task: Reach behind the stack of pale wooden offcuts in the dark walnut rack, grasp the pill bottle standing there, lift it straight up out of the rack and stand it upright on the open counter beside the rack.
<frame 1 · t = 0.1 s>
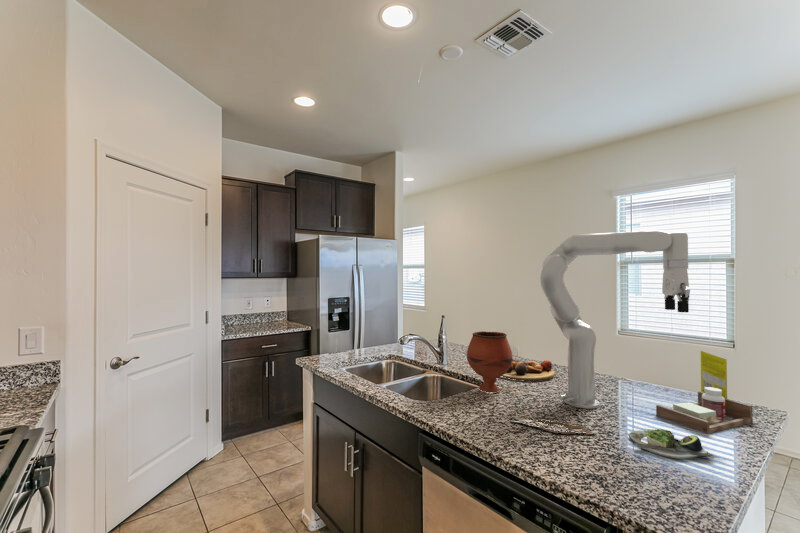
hand: (676, 310, 135), 37 cm above the worktop, tool pointing down, fingers open, 9 cm apart
birch offcut: (693, 420, 122), point 1 cm above the worktop, touching ash offcut, walnut rack
goblet: (489, 391, 157), on the worktop
wooden fragment: (550, 428, 120), on the worktop
food package: (713, 407, 139), on the worktop
sage painted offcut: (694, 412, 122), point 4 cm above the worktop, touching ash offcut
pill bottle: (713, 421, 126), resting in walnut rack
wooden plate with food: (521, 374, 186), on the worktop
walnut rack: (703, 423, 124), on the worktop
ash offcut: (693, 415, 122), point 3 cm above the worktop, touching birch offcut, sage painted offcut
salad plate: (669, 448, 107), on the worktop
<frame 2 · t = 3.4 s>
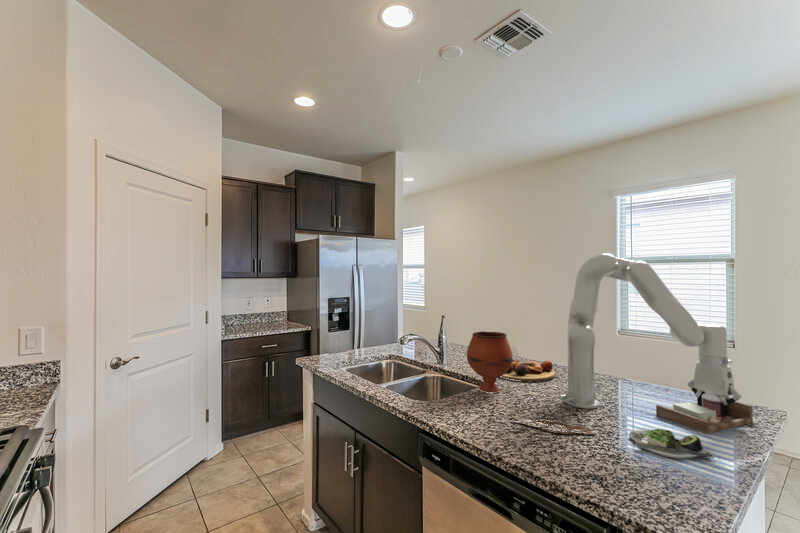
hand: (713, 411, 126), 3 cm above the worktop, tool pointing down, fingers closed on pill bottle, 6 cm apart
pill bottle: (713, 421, 126), resting in walnut rack, touching gripper
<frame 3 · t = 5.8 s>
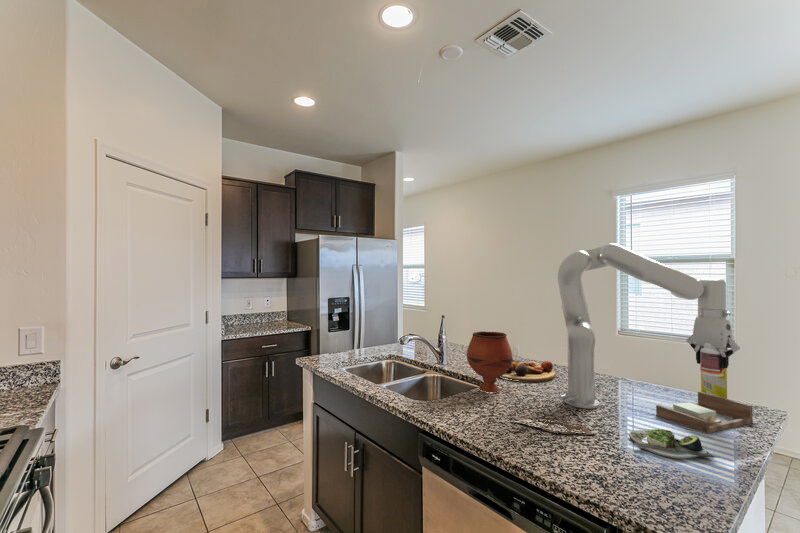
hand: (711, 365, 126), 19 cm above the worktop, tool pointing down, fingers closed on pill bottle, 6 cm apart
pill bottle: (711, 374, 126), point 16 cm above the worktop, touching gripper
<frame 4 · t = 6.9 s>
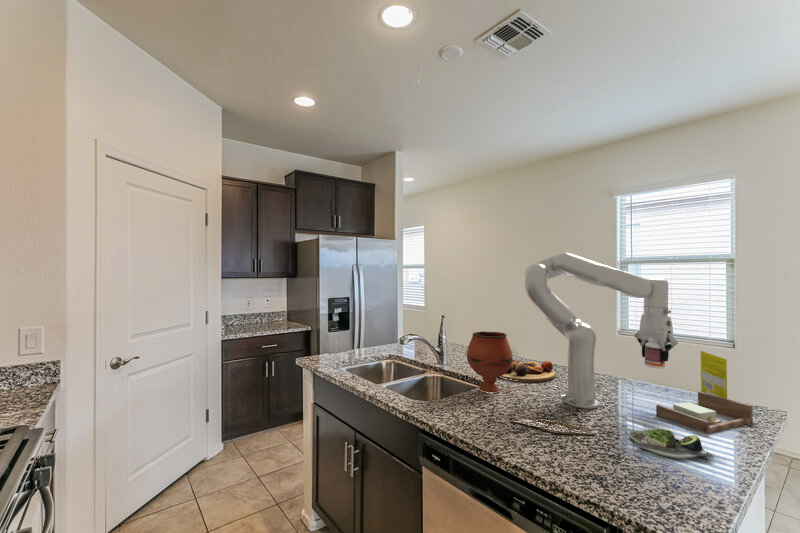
hand: (654, 358, 137), 19 cm above the worktop, tool pointing down, fingers closed on pill bottle, 6 cm apart
pill bottle: (654, 367, 137), point 16 cm above the worktop, touching gripper
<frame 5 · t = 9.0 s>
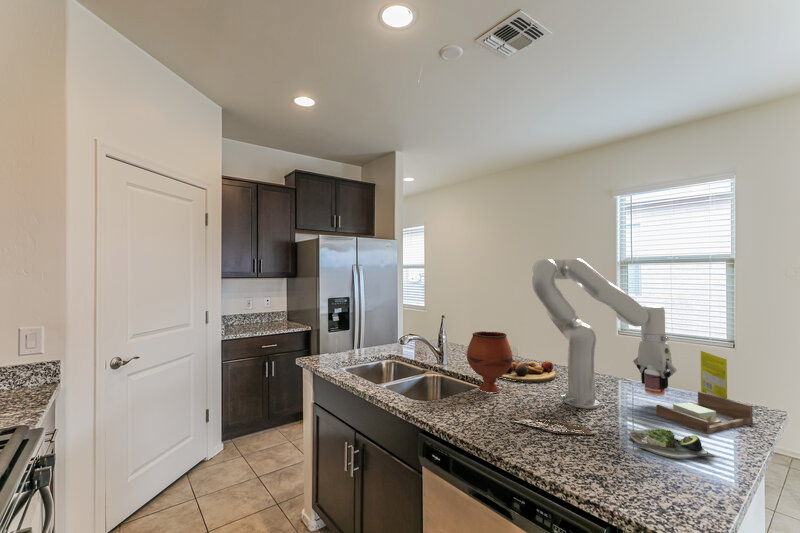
hand: (654, 385, 137), 9 cm above the worktop, tool pointing down, fingers closed on pill bottle, 6 cm apart
pill bottle: (654, 394, 137), point 5 cm above the worktop, touching gripper
when the fingers open (4 cm above the worktop, at t = 10.8 s): pill bottle drops 1 cm, on the worktop.
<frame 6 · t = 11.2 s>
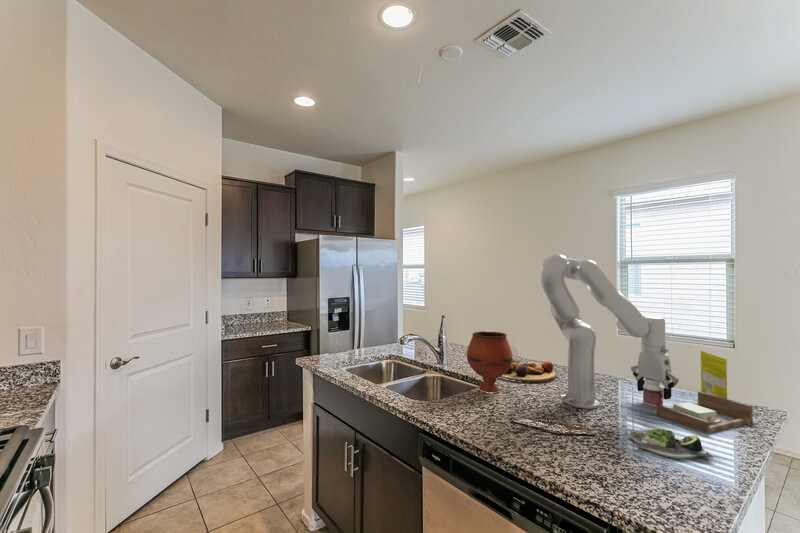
hand: (653, 394, 137), 5 cm above the worktop, tool pointing down, fingers open, 9 cm apart
pill bottle: (653, 409, 137), on the worktop
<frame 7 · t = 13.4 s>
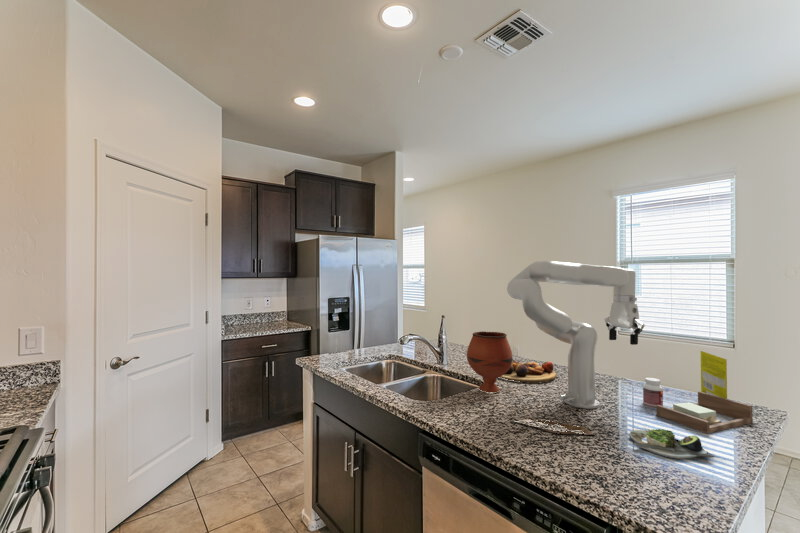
hand: (623, 342, 146), 23 cm above the worktop, tool pointing down, fingers open, 9 cm apart
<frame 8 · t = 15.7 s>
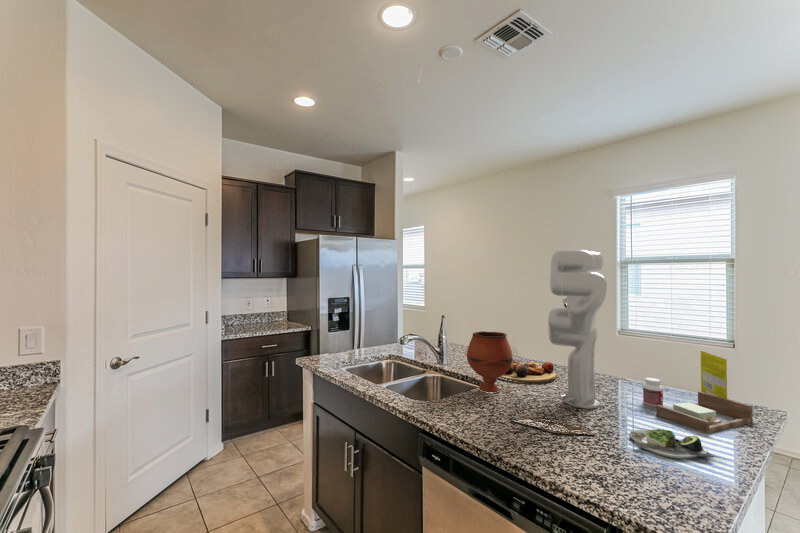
hand: (578, 319, 162), 30 cm above the worktop, tool pointing down, fingers open, 9 cm apart
at the end: pill bottle inside the target area (0.3 cm from its centre), on the worktop; pill bottle tilted 0°; pill bottle touching worktop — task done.
